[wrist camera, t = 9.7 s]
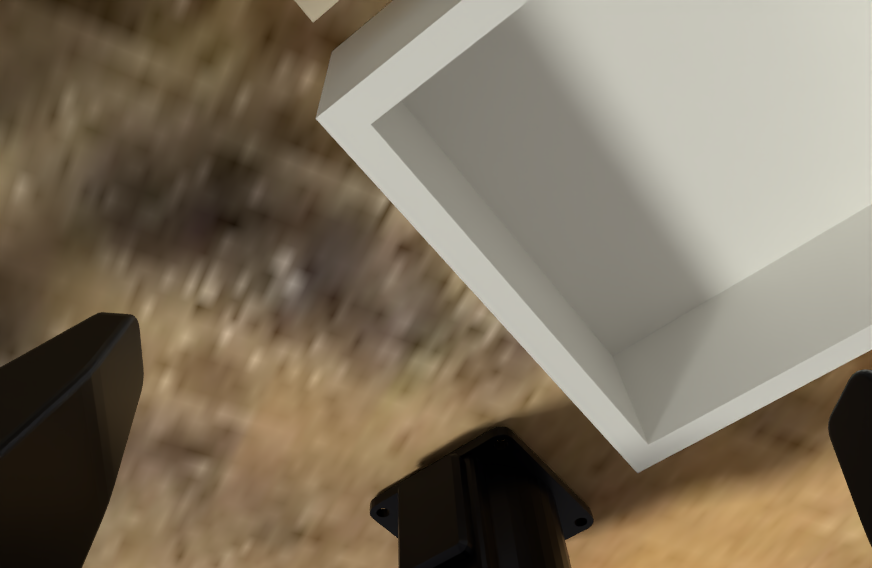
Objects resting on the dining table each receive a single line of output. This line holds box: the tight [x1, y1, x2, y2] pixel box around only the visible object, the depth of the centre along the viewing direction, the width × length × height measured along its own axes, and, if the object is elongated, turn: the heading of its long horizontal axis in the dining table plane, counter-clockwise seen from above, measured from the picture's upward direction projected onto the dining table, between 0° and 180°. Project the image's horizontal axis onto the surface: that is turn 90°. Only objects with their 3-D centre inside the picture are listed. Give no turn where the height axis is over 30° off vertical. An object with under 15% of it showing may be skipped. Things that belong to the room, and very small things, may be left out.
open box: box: [316, 0, 872, 473], centre depth 18 cm, size 14×14×5 cm
